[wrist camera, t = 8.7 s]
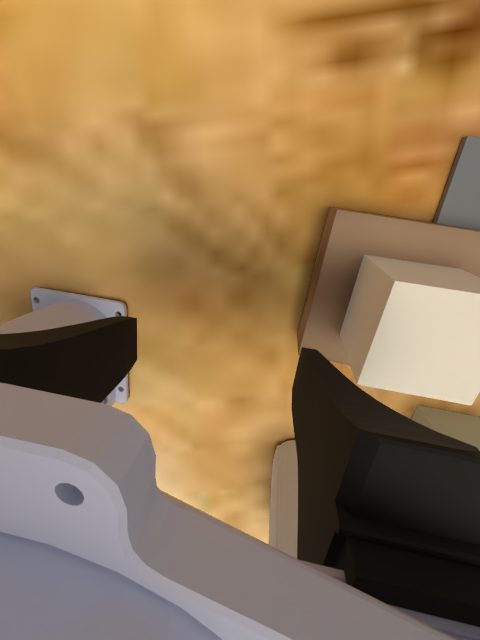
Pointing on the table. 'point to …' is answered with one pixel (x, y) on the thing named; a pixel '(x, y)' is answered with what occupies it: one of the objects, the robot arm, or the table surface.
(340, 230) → the walnut base
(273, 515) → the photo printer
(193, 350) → the table surface
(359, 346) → the cream cube
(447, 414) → the sage cube
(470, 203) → the card
